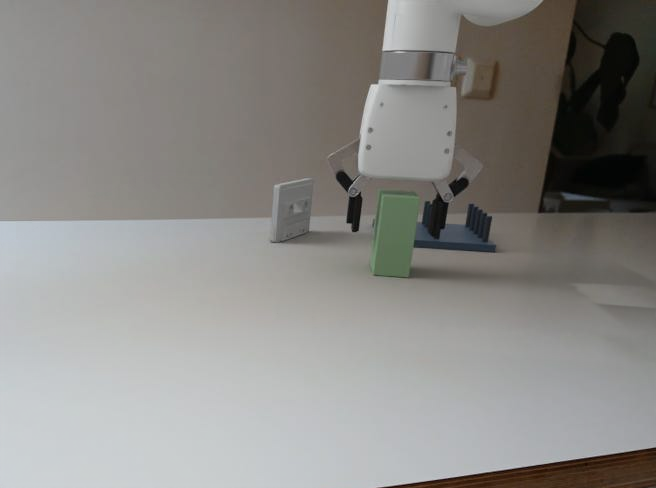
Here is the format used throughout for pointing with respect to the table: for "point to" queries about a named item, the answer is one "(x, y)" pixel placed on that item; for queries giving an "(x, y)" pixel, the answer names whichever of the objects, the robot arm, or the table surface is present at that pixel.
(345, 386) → the table surface
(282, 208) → the cassette
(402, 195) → the block
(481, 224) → the rack
